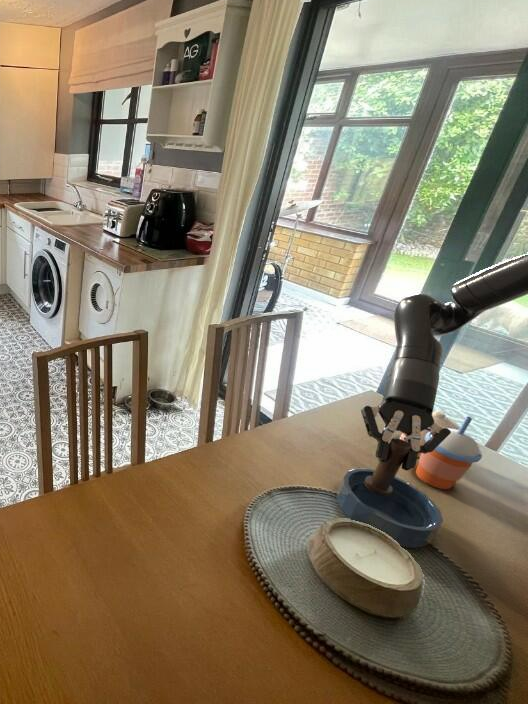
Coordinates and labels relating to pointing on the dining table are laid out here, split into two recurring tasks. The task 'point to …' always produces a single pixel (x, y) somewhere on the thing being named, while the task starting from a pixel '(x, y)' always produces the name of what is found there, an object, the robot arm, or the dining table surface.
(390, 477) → the brown wooden cylinder
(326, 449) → the dining table surface
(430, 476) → the cup with straw
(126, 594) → the dining table surface
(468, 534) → the dining table surface
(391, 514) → the bowl
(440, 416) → the teacup with lid
